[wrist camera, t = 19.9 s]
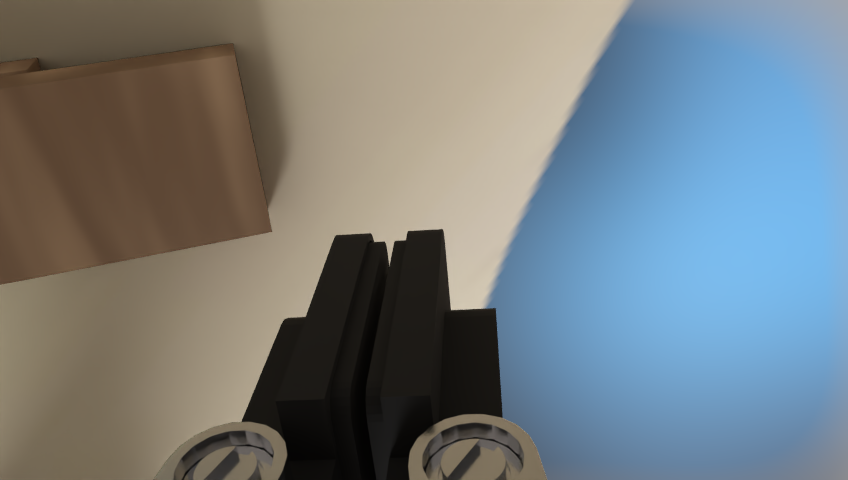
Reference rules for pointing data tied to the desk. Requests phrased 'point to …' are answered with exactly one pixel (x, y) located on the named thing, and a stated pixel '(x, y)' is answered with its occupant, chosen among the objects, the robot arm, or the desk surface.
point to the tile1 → (125, 162)
